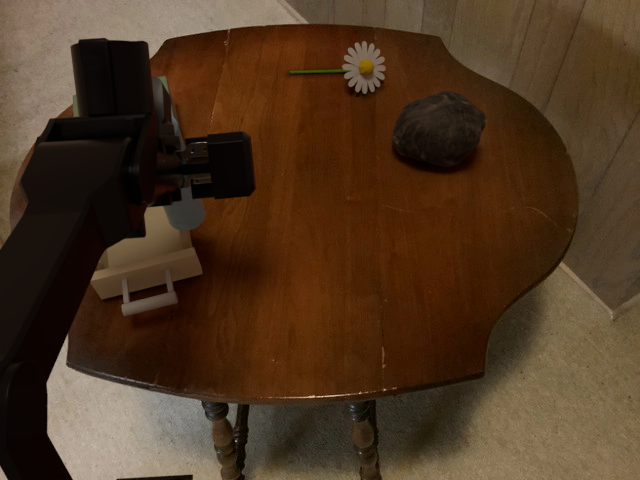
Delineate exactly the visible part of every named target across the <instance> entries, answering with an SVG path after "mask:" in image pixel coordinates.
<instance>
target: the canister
mask: <svg viewBox="0 0 640 480" xmlns="http://www.w3.org/2000/svg"><path fill="white" fill-rule="evenodd" d="M172 124H173V125H174V132H175V136H179V138H180V146H181V150H176V152H179V151H184V150H185V148H186V144H185V141H184V139H183V136H182V133H181V129H179V128H180V125H179V126H178V123H177V121H176V119H175V118H174V117H173V116H172ZM181 162H182V161H181ZM182 164H186V160H185V159H184V162H182ZM187 177H188V175H184V178H186V180H187ZM181 195H182V201H178V202H173V204H172V205H169V206H163V208H164V211H165V213H166V216H167V218H168V221H169V223H170V225H171V226H172V227H173V228H175V229H177V230H180V231H188V230H189V231H192V230H195V229H197V228H198V227H200V226H201V225H202V224H203V223H204V221H205V219H206V216H207V211H206V208H205V204H204V201H203V198H201V199H192V192H191V187H189V188H181Z"/></svg>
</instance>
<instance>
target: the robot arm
mask: <svg viewBox="0 0 640 480" xmlns="http://www.w3.org/2000/svg"><path fill="white" fill-rule="evenodd" d="M77 41H78V42H76V43H74V44H71V45H70V47H69V48H70V55H71V63H72V64H71V65H72V72H73V80H74V81H73V82H74V90H75V95H76V98H77V106H78V115H79V117H73V116H63V117H50V118H49V119H48V121H47V123H46V125H45V127H44V129H43V131H42V133H41V135H40V136H36V140H35V143H34V145H33V150H32V153H31V154H30V156H29V158H28V161H27V163H26V165H25V167H24V170H23V171H22V174H21V175H20V178H19V180H18V188H19V190H20V192H21V194H22V197H23V200H24V202H25V207H24V209H23V212H22V214H21V216H20V218H19V219H18V221H17V223H16V224H15V226H14V228H13V229H12V231H11V232H10V233H9V235H8V236H7V238H6V240H5V241H4V243H3V244H2V245H1V247H0V468H1V471H2V472H3V474H4V476H5V478H6V479H7V480H74V479H73V477H72V475H71V474H70V472H69V470H68V469H67V467H66V465H65V463H64V461H63V459H62V457H61V456H60V454H59V452H58V451H57V448H56V446H55V445H54V444H53V442H52V440H51V438H50V436H49V434H48V419H49V418H48V415H49V414H48V412H49V411H48V405H49V402H48V400H49V396H48V395H49V394H48V381H49V379H50V377H51V374H52V372H53V370H54V367H55V365H56V363H57V361H58V358H59V356H60V353H61V351H62V348H63V346H64V344H65V342H66V339H67V337H68V335H69V333H70V330H71V327H72V325H73V323H74V321H75V319H76V316H77V315H78V312H79V309H80V307H81V304H82V302H83V300H84V298H85V295H86V294H87V291H88V288H89V286H90V284H91V283H90V281H91V279H92V277H93V274H94V272H95V271H97V265H98V263H99V261H100V258H101V256H102V255H103V253H104V252H105V250H106V249H108V248H110V247H111V246H113V245H115V244H116V243H118V242H120V241H122V240H123V239H131V238H144V237H145V236H146V226H145V216H144V214H145V212H146V209H147V207H158V206H169V205H172V204H173V202H178V201H182V195H181V188H189V187H191V192H192V199H201V198H202V199H211V198H214V200H225V199H235V198H246V197H251V196H252V195H253V194H254V192H256V190H257V183H256V173H255V172H256V171H255V164H254V162H255V161H254V154H253V146H252V136H250V135H249V134H248V133H246V132H245V131H243V130H241V131H239V130H238V131H228V132H220V133H219V132H218V133H207V134H206V135H205V136H196V137H185V138H184V145H185V150H184V151H179V152H176V150H181V146H180V138H179V136H175V132H174V125H173V124H172V113H171V104H172V103H171V97H170V95H169V93H168V92H167V90H166V88H165V86H164V85H163V83H162V81H161V80H160V79H159V78H157V77H158V76H152V66H151V56H150V47H149V42H148V41H146V40H122V39H121V40H120V39H116V40H115V39H109V38H107V37H95V38H79V39H78V40H77ZM184 159H185V160H186V164H182V162H184ZM181 161H182V162H181ZM184 175H188V177H187V180H186V178H184ZM115 480H194V474H192V473H191V474H175V475H158V476H142V477H141V476H140V477H121V478H116V479H115Z"/></svg>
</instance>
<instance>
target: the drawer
mask: <svg viewBox="0 0 640 480" xmlns="http://www.w3.org/2000/svg"><path fill="white" fill-rule="evenodd" d="M144 216H145V226H146V236H145V237H144V238H131V239H123V240H122V241H120V242H118V243H116V244H115V245H113V246H111V247H110V248H108V249H106V250H105V252H104V253H103V255H102V256H101V258H100V261H99V263H98V265H97V268H96V270H95V272H94V274H93V277H92V279H91V281H90V284H91V286H92V287H93V289H94V291H95V292H96V293H97V295H98V297H99V298H100V299H101V300H105V299H110V298H113V297H118V296H121V295H122V299H123V303H122V304H121V306H120V307H121V312H122V315H123V316H124V317H129V316H132V315H136V314H141V313H144V312H148V311H153V310H156V309H160V308H164V307H167V306H172V305H176V304H178V303H179V300H178V295H177V292H176V291H175V287H174V282H177V281H180V280H185V279H189V278H193V277H196V276H200V275H203V269H202V265H201V262H200V260H199V257H198V255H197V252H196V251H197V250H196V249H195V247H194V246H193V243H192V237H191V232H190V231H191V230H188V231H180V230H177V229H175V228H173V227H172V226H171V225H170V223H169V221H168V218H167V216H166V213H165V211H164V208H163V206H158V207H147V209H146V212H145V214H144ZM165 284H166V287H167V288H166V289H167V292H166V293H161V294H157V295H153V296H149V297H145V298H141V299H137V300H134V301H131V298H130V296H131V295H130V293H133V292H138V291H141V290H145V289H149V288H153V287H156V286H162V285H165Z"/></svg>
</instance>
